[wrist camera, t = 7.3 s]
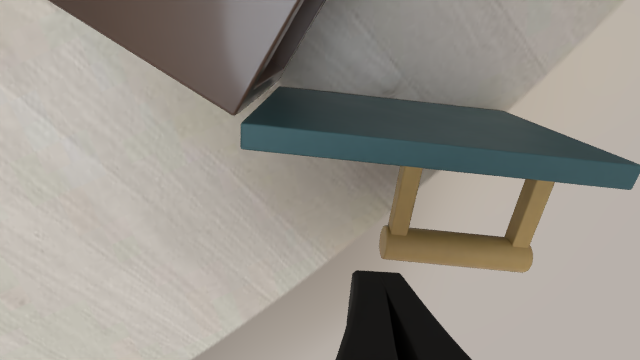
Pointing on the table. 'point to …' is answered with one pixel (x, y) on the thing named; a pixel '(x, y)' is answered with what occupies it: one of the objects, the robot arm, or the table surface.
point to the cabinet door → (436, 163)
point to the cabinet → (206, 40)
